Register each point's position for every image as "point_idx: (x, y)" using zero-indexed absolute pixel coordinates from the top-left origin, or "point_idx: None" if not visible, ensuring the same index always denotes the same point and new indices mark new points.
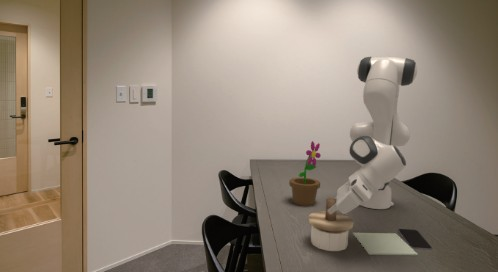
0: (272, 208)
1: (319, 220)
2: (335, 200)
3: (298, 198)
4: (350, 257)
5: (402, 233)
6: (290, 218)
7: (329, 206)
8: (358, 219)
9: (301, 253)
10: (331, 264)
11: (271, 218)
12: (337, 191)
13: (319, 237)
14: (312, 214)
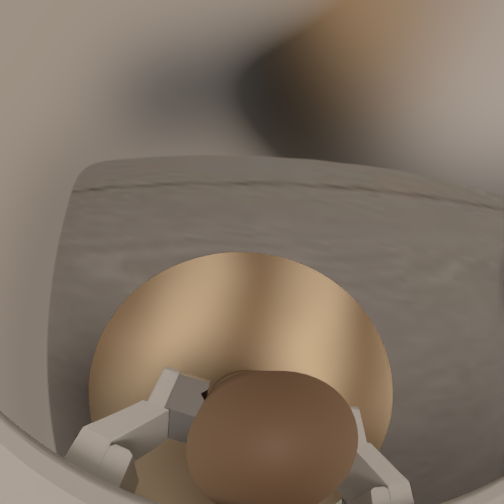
0: (473, 216)
1: (207, 319)
2: (218, 493)
3: None
4: None
5: None
6: (436, 259)
7: (205, 399)
8: (452, 492)
9: (137, 256)
10: (62, 344)
11: (414, 198)
12: (487, 491)
13: None
14: (320, 289)
